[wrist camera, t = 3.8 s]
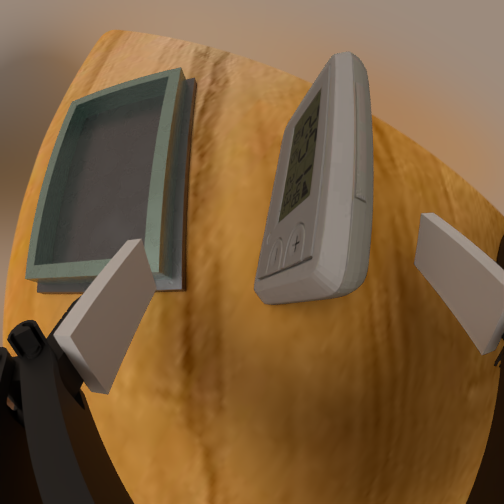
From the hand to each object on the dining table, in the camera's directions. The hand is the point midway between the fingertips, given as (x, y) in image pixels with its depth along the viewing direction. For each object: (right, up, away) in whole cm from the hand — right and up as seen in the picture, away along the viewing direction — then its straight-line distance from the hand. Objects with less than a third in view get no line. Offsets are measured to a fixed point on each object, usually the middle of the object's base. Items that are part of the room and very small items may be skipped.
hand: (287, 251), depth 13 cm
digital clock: (+3, +3, +10) cm, 11 cm away
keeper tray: (-15, +7, +13) cm, 21 cm away
